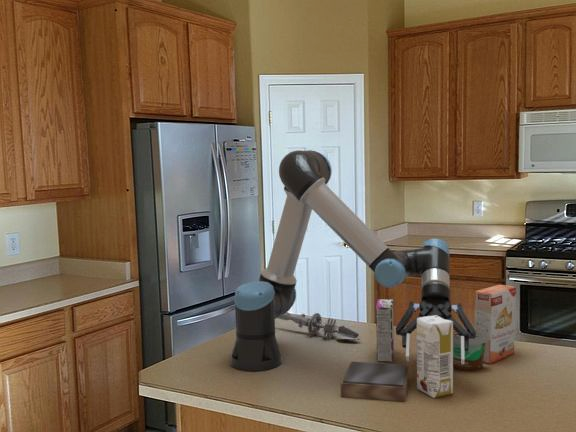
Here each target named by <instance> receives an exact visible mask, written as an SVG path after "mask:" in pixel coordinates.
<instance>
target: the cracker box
mask: <svg viewBox="0 0 576 432" xmlns="http://www.w3.org/2000/svg"><path fill="white" fill-rule="evenodd" d="M516 294H517V287H516V286H513V285H505V284H496V285H494V286H489V287H486V288H482V289H478V290H475V291H474V326H473V328H474V330H475V331H476V335H479V336H482V335H485V334H486V335H487V336H488V341H487V342H486V343H485V350H484V359H483V363H486V364H490V365H491V364H493V363H495V362H497V361H501V360H503V359H504V358H506V357H510V356H511V355H512V356H513V355H514V354H515V338H516V337H515V335H516V334H515V333H516V332H515V331H516V299H517V298H516V297H517V295H516Z"/></svg>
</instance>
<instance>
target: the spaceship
mask: <svg viewBox="0 0 576 432" xmlns="http://www.w3.org/2000/svg"><path fill="white" fill-rule="evenodd" d="M277 319H280V320H283V321H292V322H294V323H295V324H298V325H297V326H298V328H300V329H301V328H303V326H304V327H307V331H308V334H309V335H310V336H312V337H314V335H315V336H316V335H317V334H319V332H320V330H321V331H322V332H324V333H323V338H326V340H327V339H328V340H330V339H331V340H332V337H333V335H336V336H337V337H338V339H341V340H342V339H343V340H344V341H360V338H359V337H361V334H360V333H359V332H357V331H355V330H354V329H352V328H350V327H346V326H345V325H341V326H337V325H336V323H337V322H336V321H337V320H336V319H333V318H330V317H329V318H328V320H327V321H326V322H325V323H324V322H323V321H322V316H321V315H320V313H319V312H318V313H317V312H316V313H314V314H312V315H311V316H310V318H308V317H306V314H305V313H301V315H292V314H291V313H289V311H288V312H286V313H285V314H283V315H281V316H279V317H278V318H277ZM322 322H323V323H322ZM323 324H324V325H323Z"/></svg>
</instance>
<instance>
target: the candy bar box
mask: <svg viewBox="0 0 576 432" xmlns="http://www.w3.org/2000/svg"><path fill="white" fill-rule="evenodd" d="M376 302H377V303H376V307H375V316H376V317H375V322H376V323H375V325H376V328H375V329H376V360H377V362H378V363H379V362H381V363H392V362H393V361H394V354H395V342H394V339H395V337H394V333H395V332H394V299H381V298H379V299H377V301H376Z"/></svg>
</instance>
